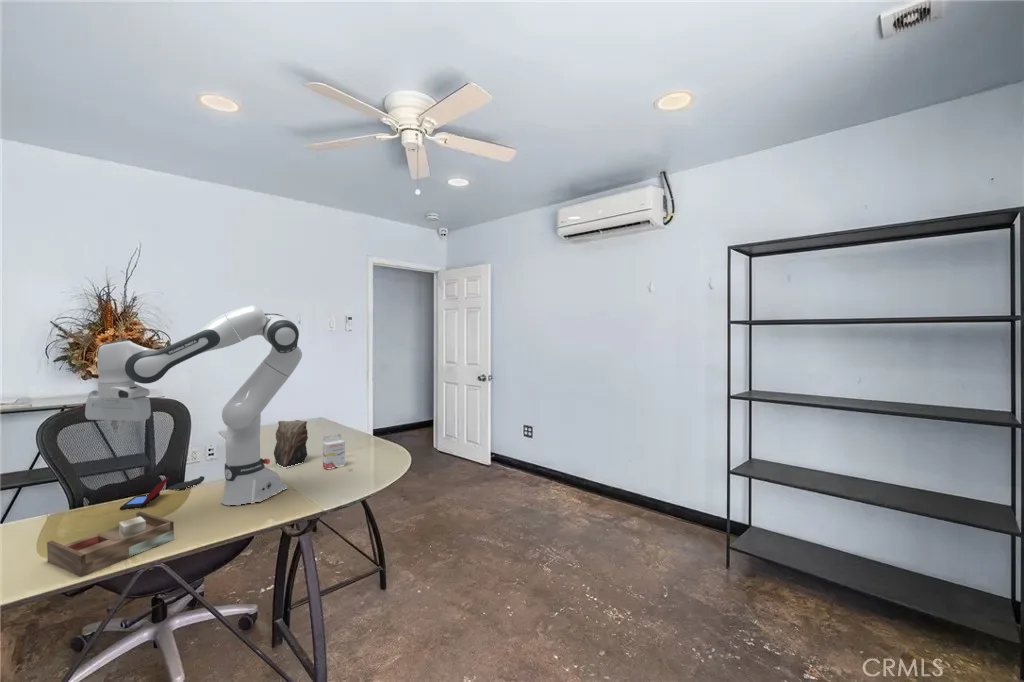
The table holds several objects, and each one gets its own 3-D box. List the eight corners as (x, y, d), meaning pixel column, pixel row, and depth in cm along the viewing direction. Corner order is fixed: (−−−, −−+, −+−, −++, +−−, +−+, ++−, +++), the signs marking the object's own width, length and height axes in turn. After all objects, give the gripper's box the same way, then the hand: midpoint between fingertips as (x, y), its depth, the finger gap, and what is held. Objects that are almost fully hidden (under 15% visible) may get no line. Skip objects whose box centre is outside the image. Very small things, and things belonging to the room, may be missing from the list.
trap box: (140, 528, 143) (140, 511, 143) (174, 539, 136) (173, 521, 136) (47, 561, 123) (47, 542, 123) (81, 576, 116) (80, 556, 116)
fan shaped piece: (213, 480, 188) (213, 477, 188) (182, 492, 175) (182, 488, 175) (197, 479, 190) (197, 475, 190) (165, 490, 177) (165, 486, 177)
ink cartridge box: (326, 470, 201) (326, 438, 200) (322, 467, 204) (322, 435, 204) (345, 466, 206) (344, 434, 206) (341, 463, 210) (340, 432, 210)
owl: (272, 463, 210) (272, 421, 210) (300, 457, 220) (299, 417, 219) (283, 469, 202) (282, 425, 201) (311, 462, 211) (310, 421, 210)
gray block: (140, 532, 134) (140, 516, 134) (146, 537, 131) (145, 520, 131) (119, 539, 130) (118, 522, 130) (124, 544, 127) (123, 527, 127)
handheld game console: (137, 497, 169) (136, 478, 169) (170, 495, 172) (169, 476, 172) (117, 511, 157) (117, 490, 157) (153, 508, 160) (153, 487, 159)
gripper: (77, 391, 140) (79, 435, 141) (135, 393, 138) (136, 437, 138) (98, 388, 146) (100, 430, 147) (154, 390, 144) (155, 432, 145)
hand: (118, 433), depth 143 cm, fingers closed
